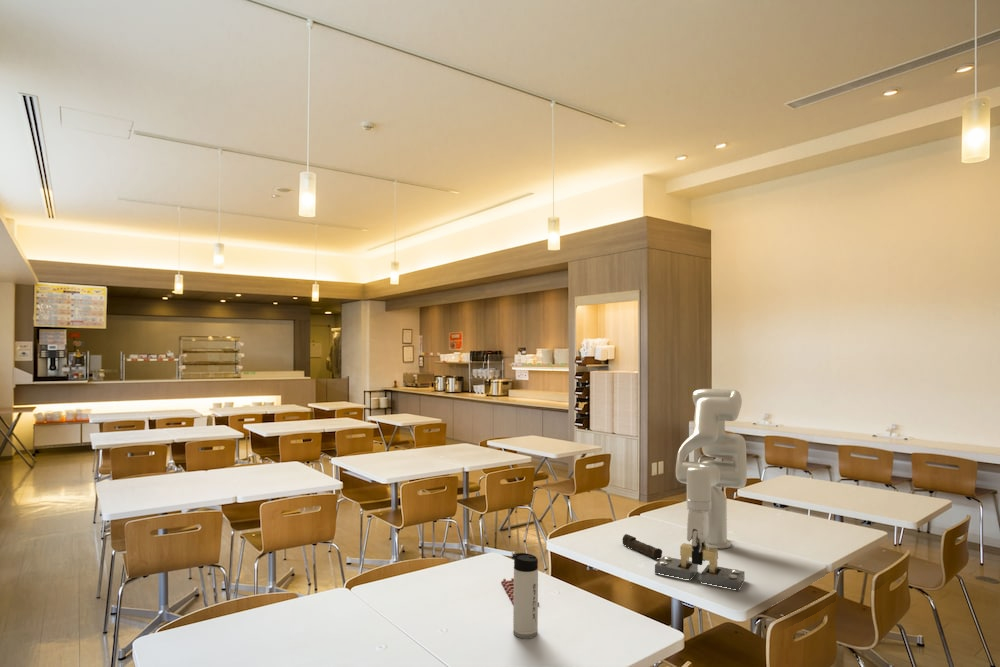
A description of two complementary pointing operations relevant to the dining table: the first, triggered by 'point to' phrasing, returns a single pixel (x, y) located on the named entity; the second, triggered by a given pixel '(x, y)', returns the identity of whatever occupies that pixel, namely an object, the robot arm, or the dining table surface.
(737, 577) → the block
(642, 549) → the dark brown rod
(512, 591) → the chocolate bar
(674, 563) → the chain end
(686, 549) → the link
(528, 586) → the travel mug
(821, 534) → the dining table surface
